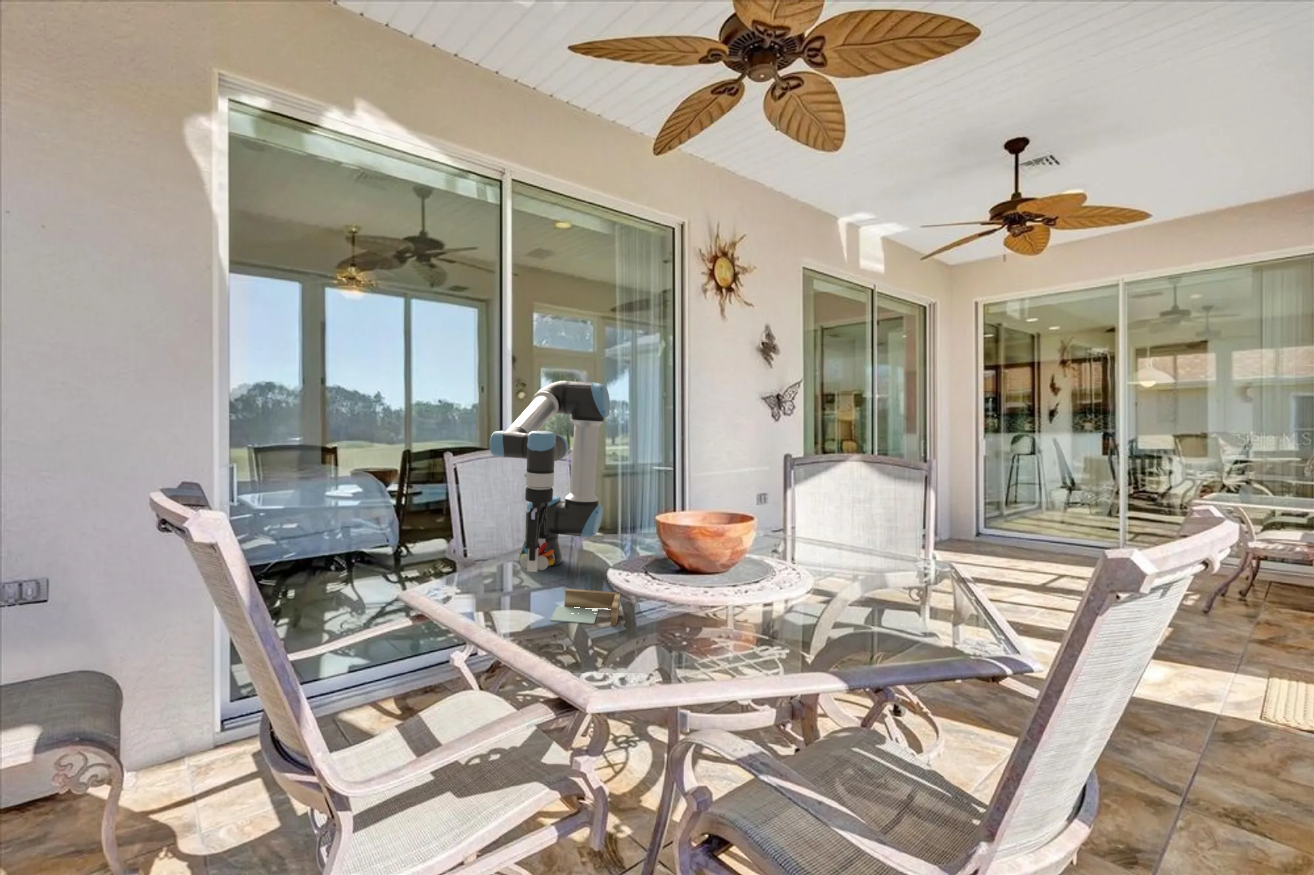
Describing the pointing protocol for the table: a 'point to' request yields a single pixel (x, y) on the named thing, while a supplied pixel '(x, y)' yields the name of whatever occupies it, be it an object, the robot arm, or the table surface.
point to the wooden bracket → (594, 601)
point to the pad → (574, 615)
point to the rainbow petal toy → (539, 557)
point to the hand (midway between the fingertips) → (535, 565)
